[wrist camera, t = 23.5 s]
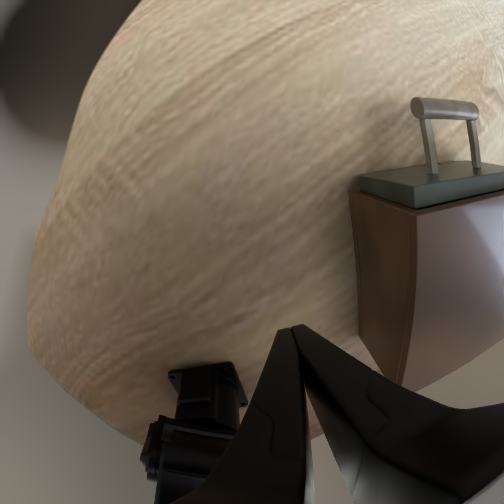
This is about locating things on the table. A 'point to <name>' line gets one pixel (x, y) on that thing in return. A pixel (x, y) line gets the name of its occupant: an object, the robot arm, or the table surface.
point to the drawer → (437, 164)
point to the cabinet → (428, 283)
